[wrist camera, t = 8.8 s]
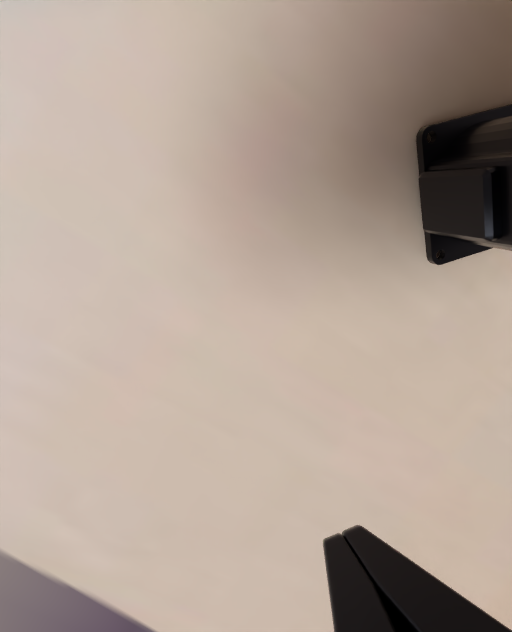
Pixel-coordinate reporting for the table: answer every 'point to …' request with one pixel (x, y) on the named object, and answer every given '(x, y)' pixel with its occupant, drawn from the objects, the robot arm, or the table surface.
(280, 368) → the table surface
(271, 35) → the table surface
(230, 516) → the table surface
